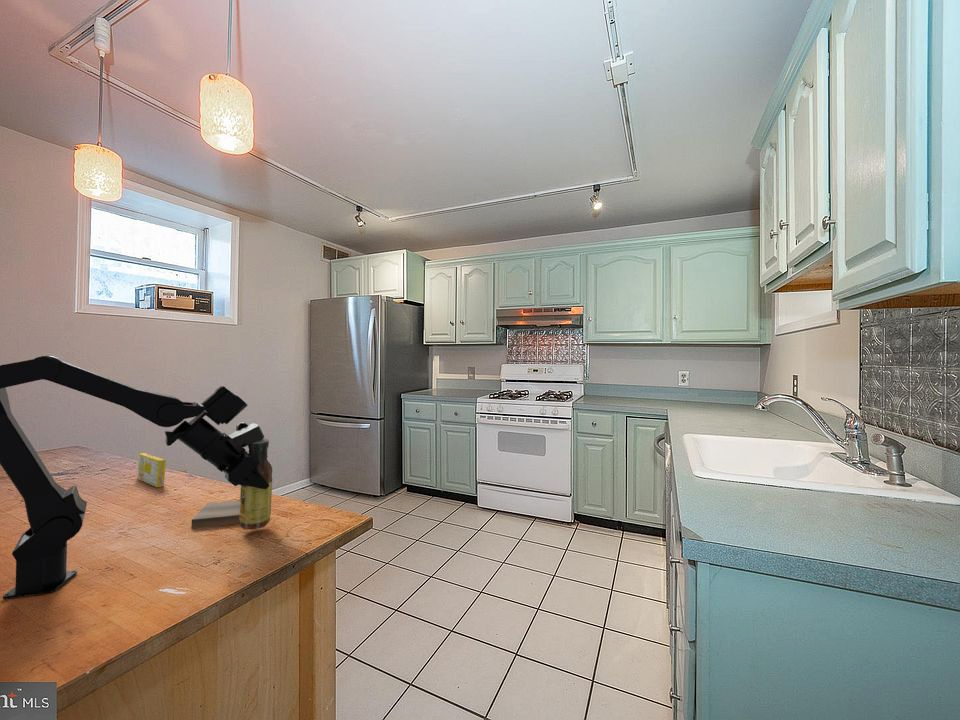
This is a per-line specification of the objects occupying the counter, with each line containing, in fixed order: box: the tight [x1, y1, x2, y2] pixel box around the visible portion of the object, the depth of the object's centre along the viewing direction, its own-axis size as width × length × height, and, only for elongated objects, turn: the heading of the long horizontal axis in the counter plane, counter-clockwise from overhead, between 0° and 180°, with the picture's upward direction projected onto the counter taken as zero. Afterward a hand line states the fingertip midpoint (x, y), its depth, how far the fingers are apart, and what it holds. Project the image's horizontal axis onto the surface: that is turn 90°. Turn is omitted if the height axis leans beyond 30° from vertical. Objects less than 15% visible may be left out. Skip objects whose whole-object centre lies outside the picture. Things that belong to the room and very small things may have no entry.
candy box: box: [136, 452, 166, 488], centre depth 122 cm, size 16×2×8 cm, turn 58°
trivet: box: [191, 499, 240, 529], centre depth 97 cm, size 11×11×2 cm
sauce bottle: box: [239, 437, 273, 530], centre depth 89 cm, size 7×6×20 cm
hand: (263, 484), depth 90 cm, fingers closed on sauce bottle, 6 cm apart
